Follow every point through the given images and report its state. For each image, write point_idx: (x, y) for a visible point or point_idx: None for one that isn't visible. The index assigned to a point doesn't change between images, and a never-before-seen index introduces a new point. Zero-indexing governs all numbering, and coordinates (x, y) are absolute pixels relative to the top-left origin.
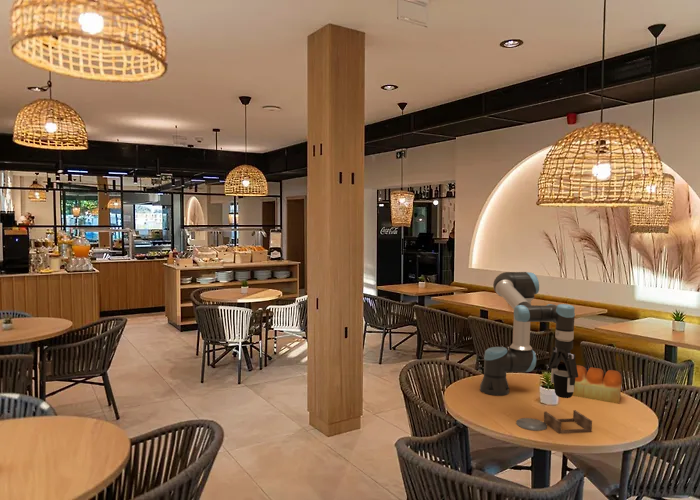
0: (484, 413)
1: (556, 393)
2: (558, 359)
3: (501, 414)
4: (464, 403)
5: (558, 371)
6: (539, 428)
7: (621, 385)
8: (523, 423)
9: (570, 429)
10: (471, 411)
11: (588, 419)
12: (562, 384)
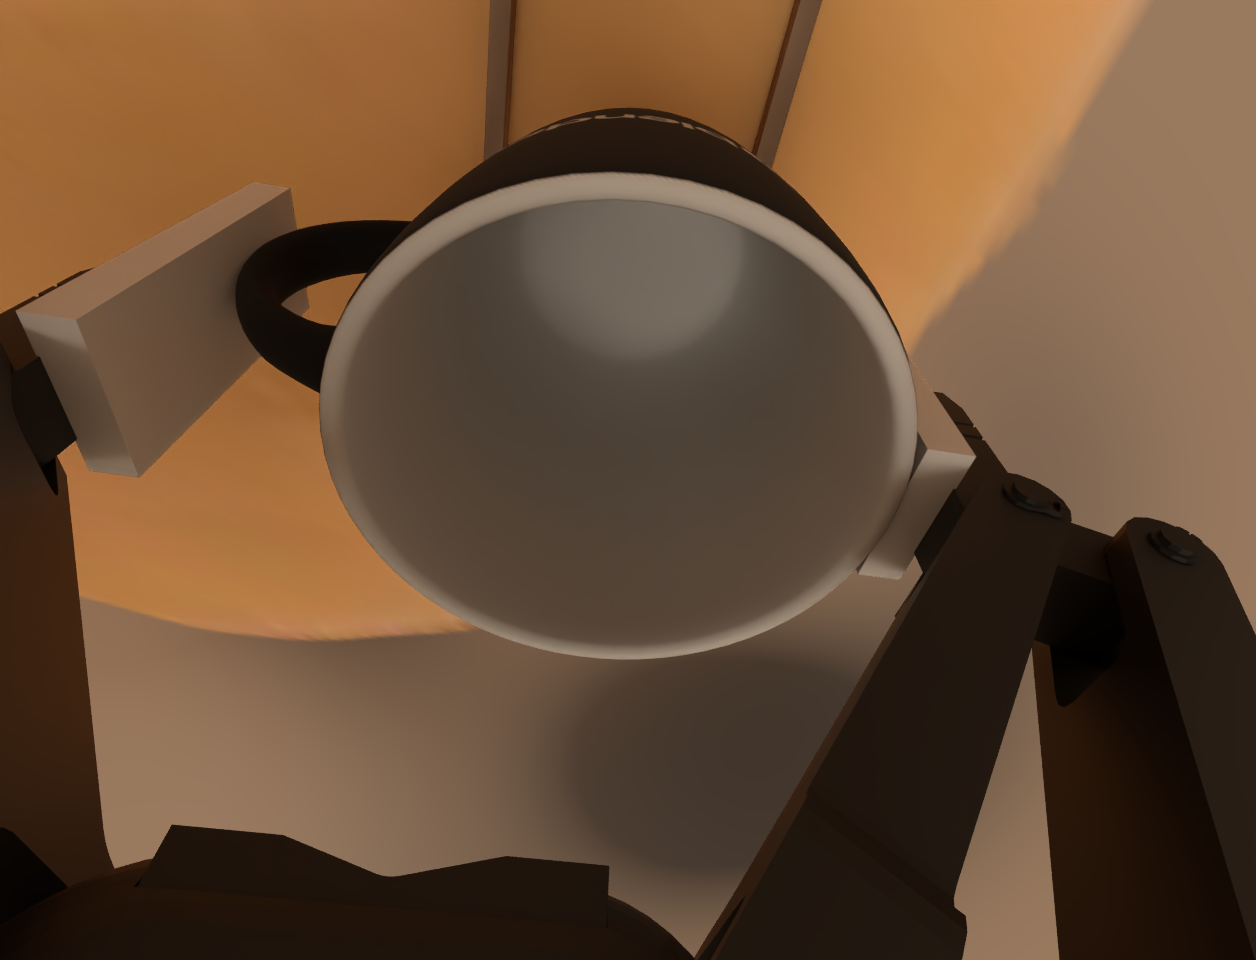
0: (277, 521)
1: (617, 392)
2: (71, 797)
3: (293, 438)
4: (86, 537)
5: (353, 456)
6: None
7: None
8: None
9: (758, 154)
10: (244, 566)
11: None
12: (743, 498)
